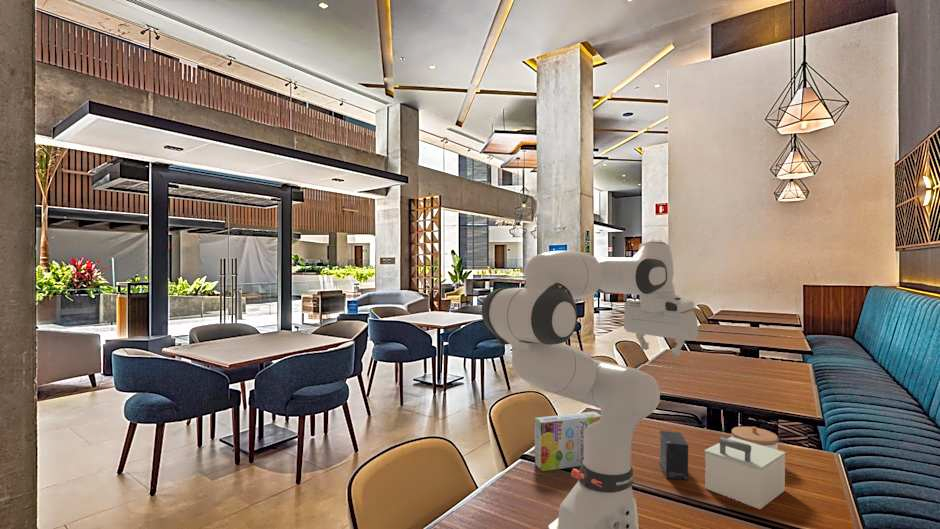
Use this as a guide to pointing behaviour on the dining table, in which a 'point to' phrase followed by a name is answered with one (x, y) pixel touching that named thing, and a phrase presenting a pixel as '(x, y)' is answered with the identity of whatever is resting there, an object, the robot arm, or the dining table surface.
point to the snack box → (561, 440)
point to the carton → (745, 480)
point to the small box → (673, 455)
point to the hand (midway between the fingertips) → (660, 351)
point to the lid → (745, 452)
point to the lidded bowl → (756, 436)
